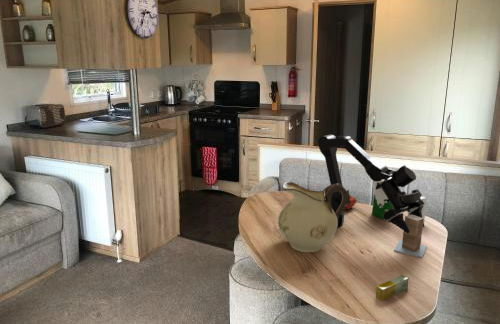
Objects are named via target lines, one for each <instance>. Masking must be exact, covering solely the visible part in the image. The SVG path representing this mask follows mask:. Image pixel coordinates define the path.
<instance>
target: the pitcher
mask: <svg viewBox="0 0 500 324" xmlns="http://www.w3.org/2000/svg"><path fill="white" fill-rule="evenodd" d="M281 190H282V191H284V192H288V193H291V194H292V195H293V197H292V199H291V200H290V201H289V202H288V203H286V204H285V206H283V208H282V209H281V211H280V212H279V214H278V218H277V219H278V220H277V221H278V223H277V224H278V228H279V231H280V233H281V235H282V237H284V239H285V240H286V241H287V242H288V243H289V245H290V247H291V248H292V249H293V250H295V251H298V252H301V253H307V254H309V253H310V254H311V253H316V252H318V251H320V250H322V248H323V246H325V245H326V244H328V243H329V242H330V241H331V240H332V239H333V237H334V236H335V234H336V233H337V231H338V230H337V229H338V227H337V226H338V221H337V220H338V217H339V215H340V214H341V212H342V210H343V211H344V210H345V209H344V207H345V206H346V203H347V201H348V193H347V191H346V190H347V189H346V188H345V187H344V186H343V185H342V186H341V185H340V184H338V183H336V184H333V185H331V184H330V185H328V186H326V187H324V189H323V190H310V189H308V188H305V187H303V186H301V185H299V184H297V183H295V182H293V181H285V182H284V183H283V184H282V186H281ZM335 191H340V192H341V193H342V196H343V198H342V202H341V204H340V206H339V208H338V209H337V211H336V213H335V212H334V211H333V209H332V206H331V197H332V194H333V193H334V192H335Z"/></svg>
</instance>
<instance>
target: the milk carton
mask: <svg viewBox="0 0 500 324" xmlns="http://www.w3.org/2000/svg"><path fill="white" fill-rule="evenodd" d="M391 178H392V177H390V178H388V180H389V179H391ZM383 181H384V180H381V181H373V183H374V184H373V185H374V191H373V202H372V208H371V215H372V216H374V217H377V218H378V219H380V220H384V218H383V213H385V212H386V211H388V210H389V209H391V208H393V206H392V205H391V203H390V202H387V201H386V200H388V198H387V196H386V195H385V193H384V191H383V190H382V188H381V189H376V186H377V183H378V182H383Z"/></svg>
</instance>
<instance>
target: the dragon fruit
mask: <svg viewBox="0 0 500 324" xmlns="http://www.w3.org/2000/svg"><path fill="white" fill-rule="evenodd" d="M349 196H350V198H351V199H350V202H349V204H348V205H347V206H345V209H344V211H346V210H352V209H353V208H354V206H355V204H357V199H356V197H355V196H351V194H350V193H349Z"/></svg>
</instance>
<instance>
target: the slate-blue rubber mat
mask: <svg viewBox="0 0 500 324" xmlns="http://www.w3.org/2000/svg"><path fill="white" fill-rule="evenodd" d="M402 241H403V239H402V240H401V239H399V240H398V242H397V244H396V246H395V247H394V249H393V252H396V253H399V254H403V255H409V256H411V257H416V258H420V259H423V258H424V255H425V253H426V250H427V247H428V246H427V245H424V244H420V249H419V250H417V251H415V252H412V251H410V250H408V249H405V248H403V247H402Z"/></svg>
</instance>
